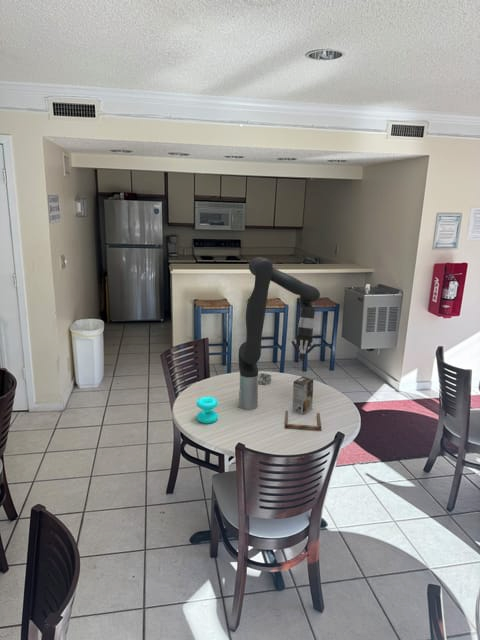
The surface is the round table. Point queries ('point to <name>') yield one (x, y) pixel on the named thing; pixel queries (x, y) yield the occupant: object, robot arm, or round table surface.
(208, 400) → the turquoise spool
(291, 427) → the open wooden frame
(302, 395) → the coffee box
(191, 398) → the round table surface
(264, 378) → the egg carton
